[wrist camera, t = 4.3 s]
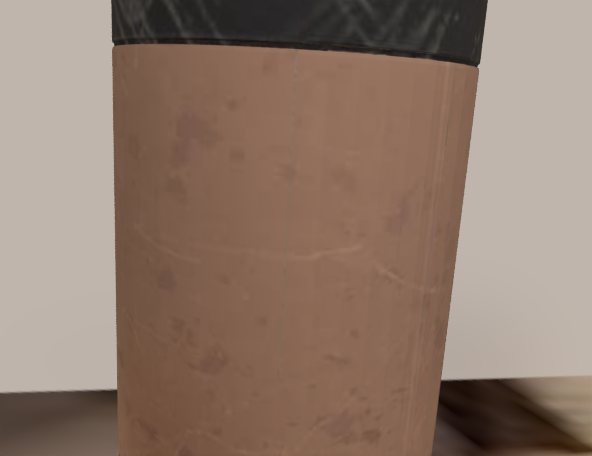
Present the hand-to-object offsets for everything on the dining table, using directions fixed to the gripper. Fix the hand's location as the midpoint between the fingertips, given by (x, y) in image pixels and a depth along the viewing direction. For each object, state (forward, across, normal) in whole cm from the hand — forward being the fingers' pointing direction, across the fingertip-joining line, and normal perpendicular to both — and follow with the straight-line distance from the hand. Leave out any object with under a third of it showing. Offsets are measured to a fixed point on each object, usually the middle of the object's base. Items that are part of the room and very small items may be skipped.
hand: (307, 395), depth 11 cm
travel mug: (+2, -1, -11) cm, 11 cm away
